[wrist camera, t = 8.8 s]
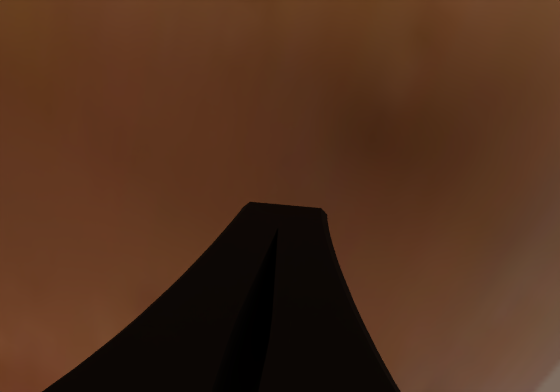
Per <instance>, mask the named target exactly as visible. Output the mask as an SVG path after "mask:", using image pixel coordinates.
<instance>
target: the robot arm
mask: <svg viewBox="0 0 560 392" xmlns="http://www.w3.org/2000/svg"><path fill="white" fill-rule="evenodd" d="M42 392H400V390H399V388H398V387H397V385H396V383H395V382H394V380H393V378H392V376H391V375H390V373H389V371H388V369H387V367H386V366H385V364H384V362H383V360H382V358H381V356H380V354H379V352H378V351H377V349H376V347H375V345H374V343H373V341H372V339H371V337H370V335H369V333H368V331H367V329H366V327H365V325H364V323H363V321H362V318H361V316H360V314H359V312H358V310H357V307H356V305H355V303H354V301H353V298H352V296H351V293H350V291H349V288H348V286H347V284H346V281H345V279H344V276H343V274H342V271H341V268H340V266H339V263H338V260H337V257H336V254H335V250H334V247H333V244H332V240H331V237H330V232H329V227H328V221H327V214H326V213H325V212H324V211H323V210H322V209H321V208H313V207H301V206H290V205H279V204H268V203H257V202H249V203H248V204H247V205H245V206H244V207H243V208H242V209H241V211H240V212H239V213H238V214H237V216H236V217H235V218H234V219H233V220H232V222H231V223H230V224H229V225H228V226H227V228H226V229H225V230H224V231H223V232H222V233H221V234H220V236H219V237H218V238H217V239H216V240H215V241H214V242H213V243H212V245H211V246H210V247H209V248H208V249H207V250H206V251H205V252H204V253H203V254H202V255H201V256H200V257H199V258H198V259H197V260H196V261H195V263H194V264H193V265H192V266H191V267H190V268H189V269H188V270H187V271H186V272H185V273H184V274H183V275H182V276H181V277H180V278H179V279H178V280H177V281H176V282H175V283H174V284H173V285H172V286H171V287H170V288H169V289H167V290H166V291H165V292H164V293H163V294H162V295H161V296H160V297H159V298H158V299H157V300H156V301H155V302H153V303H152V304H151V305H150V306H149V307H148V308H147V309H146V310H145V311H144V312H143V313H142V314H141V315H139V316H138V317H137V318H136V319H135V320H134V321H132V322H131V323H130V324H129V325H128V326H127V327H125V328H124V329H123V330H122V331H121V332H120V333H118V334H117V335H116V336H115V337H114V338H112V339H111V340H110V341H109V342H107V343H106V344H105V345H104V346H102V347H101V348H100V349H99V350H97V351H96V352H95V353H93V354H92V355H91V356H90V357H88V358H87V359H86V360H85V361H83V362H82V363H81V364H79V365H78V366H77V367H75V368H74V369H73V370H71V371H70V372H69V373H67V374H66V375H64V376H63V377H62V378H60V379H59V380H58V381H56V382H55V383H53V384H52V385H51V386H49V387H48V388H46V389H45V390H44V391H42Z"/></svg>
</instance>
